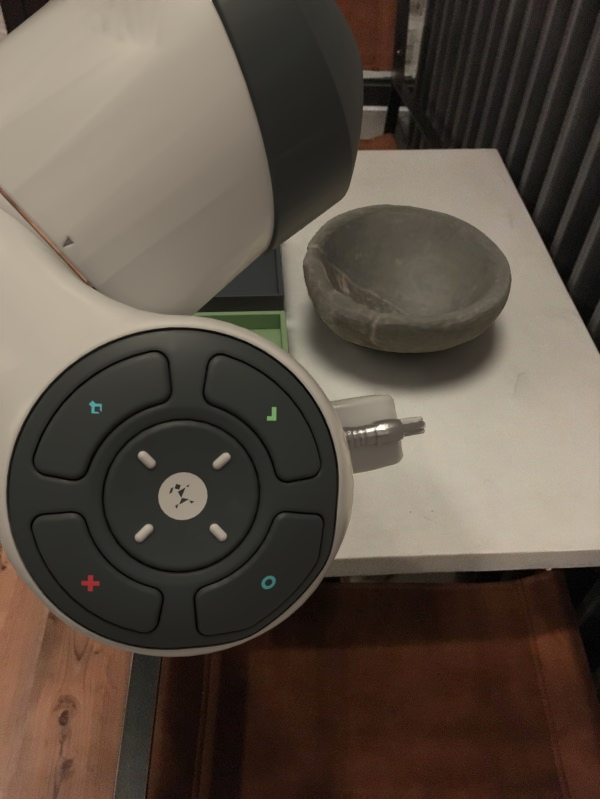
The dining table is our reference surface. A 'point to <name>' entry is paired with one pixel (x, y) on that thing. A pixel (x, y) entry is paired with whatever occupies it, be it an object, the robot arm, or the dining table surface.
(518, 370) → the dining table surface
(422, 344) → the bowl
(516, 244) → the dining table surface
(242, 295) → the slate tray
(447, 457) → the dining table surface
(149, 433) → the robot arm
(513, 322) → the dining table surface
